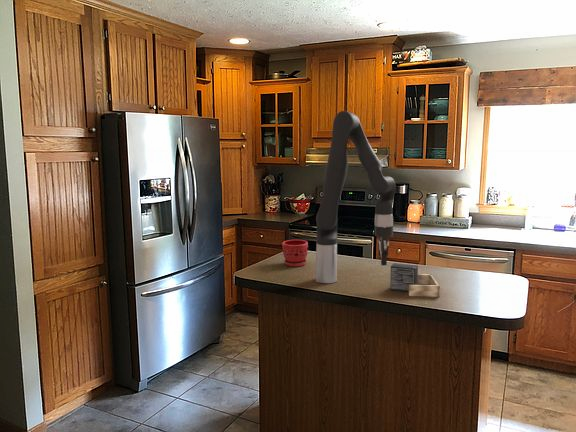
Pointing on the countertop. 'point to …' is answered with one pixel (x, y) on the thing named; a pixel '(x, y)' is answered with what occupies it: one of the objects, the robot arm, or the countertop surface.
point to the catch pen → (425, 286)
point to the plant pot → (295, 252)
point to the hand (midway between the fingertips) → (383, 264)
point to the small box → (403, 276)
